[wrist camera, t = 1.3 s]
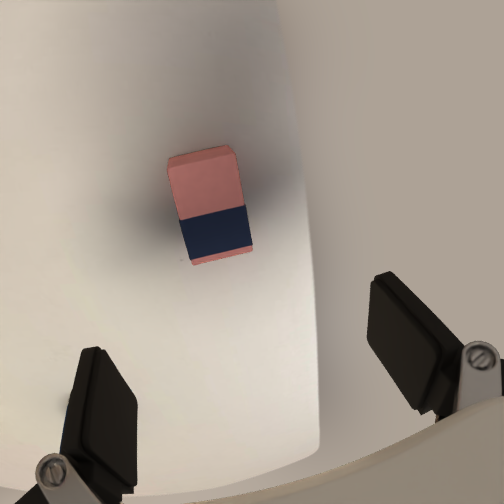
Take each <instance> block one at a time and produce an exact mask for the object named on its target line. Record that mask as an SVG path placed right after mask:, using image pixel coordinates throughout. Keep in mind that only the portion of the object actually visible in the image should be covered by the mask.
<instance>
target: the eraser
mask: <svg viewBox="0 0 504 504" xmlns="http://www.w3.org/2000/svg"><path fill="white" fill-rule="evenodd" d="M167 173H168V177H169V181H170V185H171V189H172V192H173V196H174V200H175V204H176V208H177V212H178V215H179V223H180V226H181V230H182V234H183V237H184V241H185V244H186V248H187V251H188V255H189V258H190V260H191V262H192V265H197V264H201V263H205V262H210V261H214V260H218V259H222V258H226V257H230V256H234V255H239V254H243V253H247V252H251V251H252V250H253V249H252V245H253V243H252V238H251V232H250V227H249V221H248V215H247V210H246V205H245V203H244V199H243V193H242V187H241V182H240V176H239V171H238V165H237V160H236V154H235V153H234V152H233V150H232V149H231V148H230V147H229V146H228V145H224V146H220V147H215V148H210V149H206V150H201V151H197V152H193V153H189V154H184V155H180V156H176V157H172V158H169V162H168V166H167Z"/></svg>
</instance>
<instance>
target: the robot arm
mask: <svg viewBox="0 0 504 504" xmlns="http://www.w3.org/2000/svg"><path fill="white" fill-rule="evenodd" d="M370 287H371V288H370V302H369V316H368V327H367V341H368V343H369V345H370V347H371V348H372V350H373V351H374V352H375V354H376V355H377V357H378V358H379V360H380V361H381V363H382V364H383V366H384V367H385V369H386V370H387V371H388V373H389V375H390V376H391V377H392V379H393V380H394V382H395V383H396V385H397V386H398V388H399V389H400V391H401V392H402V394H403V395H404V397H405V398H406V400H407V401H408V403H409V404H410V406H411V407H412V409H414V410H418V411H419V413H420V414H421V415H422V414H425V413H427V412H428V411H430V410H433V411H434V413H435V414H436V419H435V424H433V425H431V426H429V427H428V428H426V429H424V430H422V431H420V432H418V433H416V434H414V435H412V436H410V437H408V438H405V439H403V440H401V441H399V442H397V443H395V444H393V445H391V446H389V447H387V448H384V449H382V450H380V451H377V452H375V453H373V454H370V455H368V456H366V457H363V458H361V459H358V460H356V461H353V462H351V463H348V464H345V465H342V466H340V467H337V468H334V469H331V470H329V471H326V472H323V473H320V474H317V475H314V476H311V477H307V478H304V479H301V480H297V481H294V482H291V483H287V484H283V485H280V486H276V487H272V488H268V489H264V490H259V491H255V492H250V493H246V494H241V495H236V496H232V497H226V498H220V499H214V500H207V501H201V502H193V503H185V504H504V359H500V356H499V353H498V351H497V350H496V348H494V347H493V346H492V345H491V344H489V343H487V342H483V341H474V342H470V343H468V344H467V345H465V346H464V345H463V344H462V343H461V342H460V341H459V340H458V338H457V337H456V336H455V335H454V334H453V333H452V332H451V331H450V330H449V329H448V328H447V327H446V326H445V325H444V324H443V322H442V321H441V320H440V319H439V318H438V317H437V316H436V315H435V314H434V313H433V312H432V311H431V310H430V309H429V308H428V307H427V306H426V305H425V304H424V303H423V302H422V301H421V300H420V299H419V298H418V297H417V296H416V295H415V294H414V293H413V292H412V291H411V290H410V289H409V288H408V287H407V286H406V285H405V284H404V283H403V282H402V281H401V280H400V279H399V278H398V277H397V276H395V274H393V273H392V272H391V271H389V272H386V273H382V274H380V275H376V276H375V278H374V281H372V282H371V285H370ZM137 410H138V404H137V399H136V397H135V395H134V394H133V392H132V391H131V389H130V388H129V386H128V385H127V383H126V382H125V380H124V379H123V377H122V376H121V374H120V373H119V371H118V370H117V368H116V366H115V365H114V363H113V362H112V360H111V358H110V357H109V355H108V353H107V352H106V350H101V348H100V347H98V346H96V347H91V348H85V349H83V350H82V352H81V356H80V360H79V364H78V368H77V372H76V376H75V380H74V385H73V389H72V391H71V394H70V398H69V403H68V408H67V413H66V418H65V424H64V429H63V435H62V441H61V447H60V454H57V453H52V454H48V455H47V456H45V457H43V458H42V459H41V460H40V461H39V463H38V465H37V467H36V472H35V475H36V481H37V484H36V485H35V486H34V487H33V488H31V489H30V490H29V491H28V492H27V493H26V494H25V495H24V496H23V497H22V498H20V499H19V500H18V501H17V502H16V503H15V504H124V503H122V494H134V486H136V485H137Z"/></svg>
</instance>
